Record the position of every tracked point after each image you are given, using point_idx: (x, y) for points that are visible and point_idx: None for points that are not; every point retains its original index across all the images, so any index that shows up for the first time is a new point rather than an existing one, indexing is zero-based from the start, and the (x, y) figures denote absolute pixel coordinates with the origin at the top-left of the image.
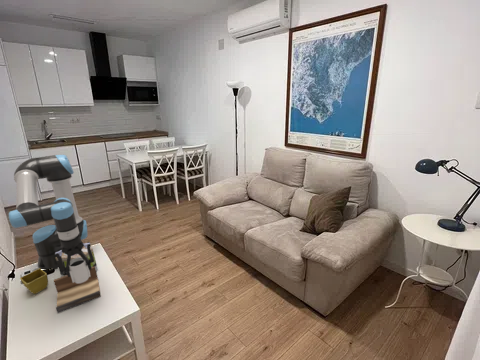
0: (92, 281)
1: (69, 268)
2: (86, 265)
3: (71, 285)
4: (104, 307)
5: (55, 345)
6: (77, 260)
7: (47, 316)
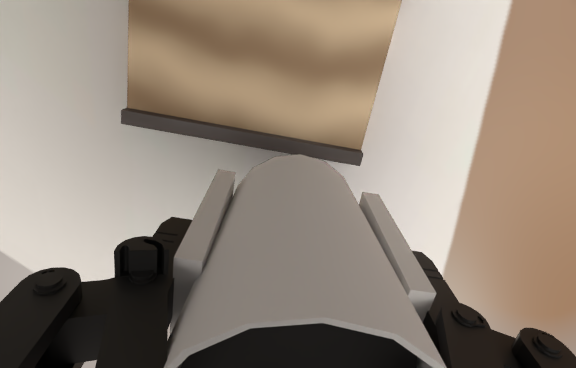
0: None
1: (176, 263)
2: None
3: None
4: None
5: None
6: (330, 283)
7: (88, 99)
